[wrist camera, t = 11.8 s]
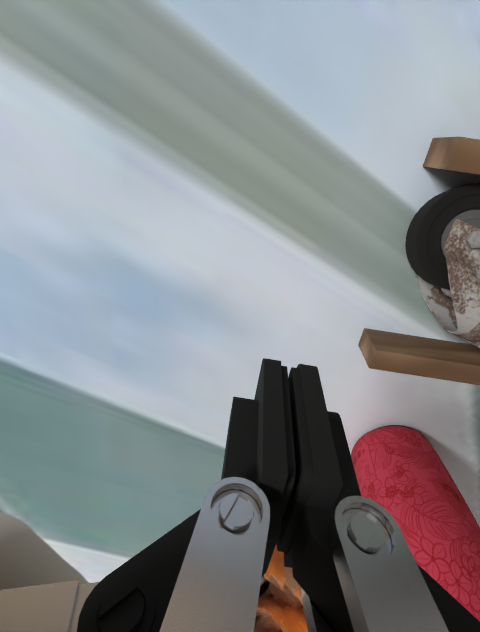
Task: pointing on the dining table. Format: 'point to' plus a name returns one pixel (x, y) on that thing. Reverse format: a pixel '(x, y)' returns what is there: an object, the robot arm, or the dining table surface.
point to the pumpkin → (279, 599)
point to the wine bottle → (423, 507)
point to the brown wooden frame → (419, 351)
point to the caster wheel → (449, 259)
